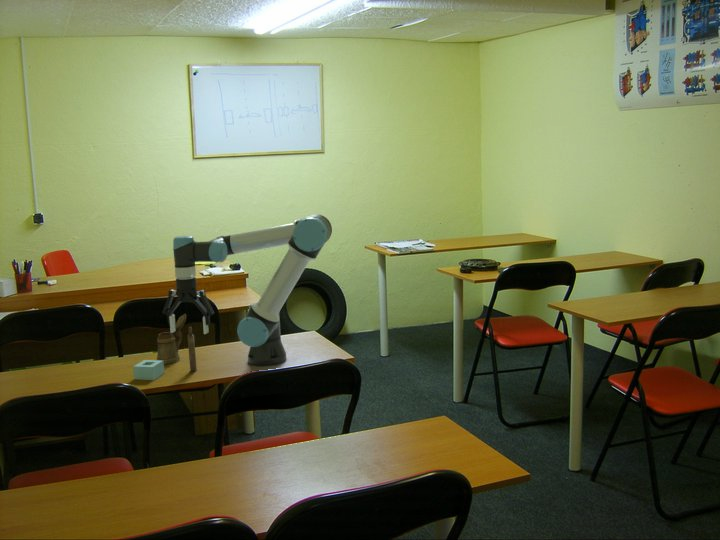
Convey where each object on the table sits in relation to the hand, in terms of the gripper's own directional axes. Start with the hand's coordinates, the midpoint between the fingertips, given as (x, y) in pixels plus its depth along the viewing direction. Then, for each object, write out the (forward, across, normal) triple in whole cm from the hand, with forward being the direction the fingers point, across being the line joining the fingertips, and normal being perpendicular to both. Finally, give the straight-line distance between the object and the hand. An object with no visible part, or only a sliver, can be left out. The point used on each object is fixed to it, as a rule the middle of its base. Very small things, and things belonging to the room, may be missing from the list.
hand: (189, 332), depth 263 cm
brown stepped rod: (+15, 0, 0) cm, 15 cm away
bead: (+15, +14, +8) cm, 22 cm away
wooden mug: (+15, +14, -13) cm, 25 cm away
